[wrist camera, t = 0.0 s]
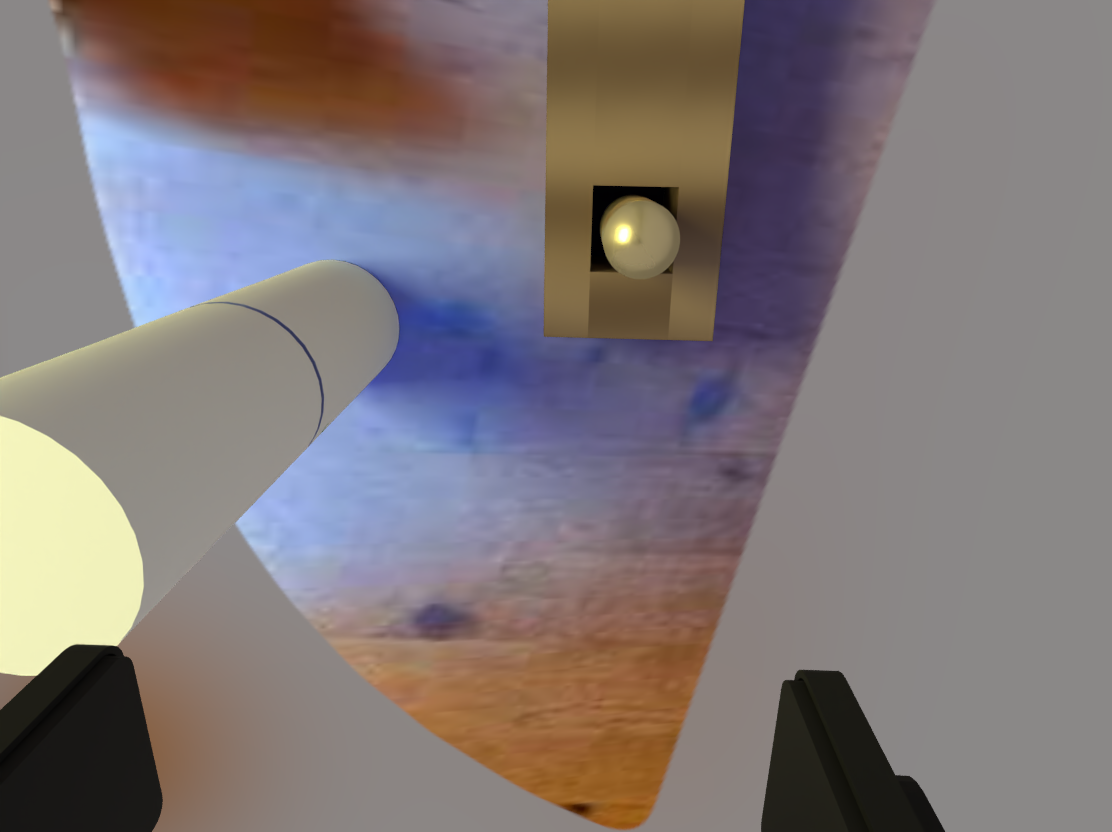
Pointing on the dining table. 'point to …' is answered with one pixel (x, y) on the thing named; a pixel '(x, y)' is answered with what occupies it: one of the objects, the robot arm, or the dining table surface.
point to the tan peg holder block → (638, 157)
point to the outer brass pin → (639, 236)
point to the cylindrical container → (166, 447)
